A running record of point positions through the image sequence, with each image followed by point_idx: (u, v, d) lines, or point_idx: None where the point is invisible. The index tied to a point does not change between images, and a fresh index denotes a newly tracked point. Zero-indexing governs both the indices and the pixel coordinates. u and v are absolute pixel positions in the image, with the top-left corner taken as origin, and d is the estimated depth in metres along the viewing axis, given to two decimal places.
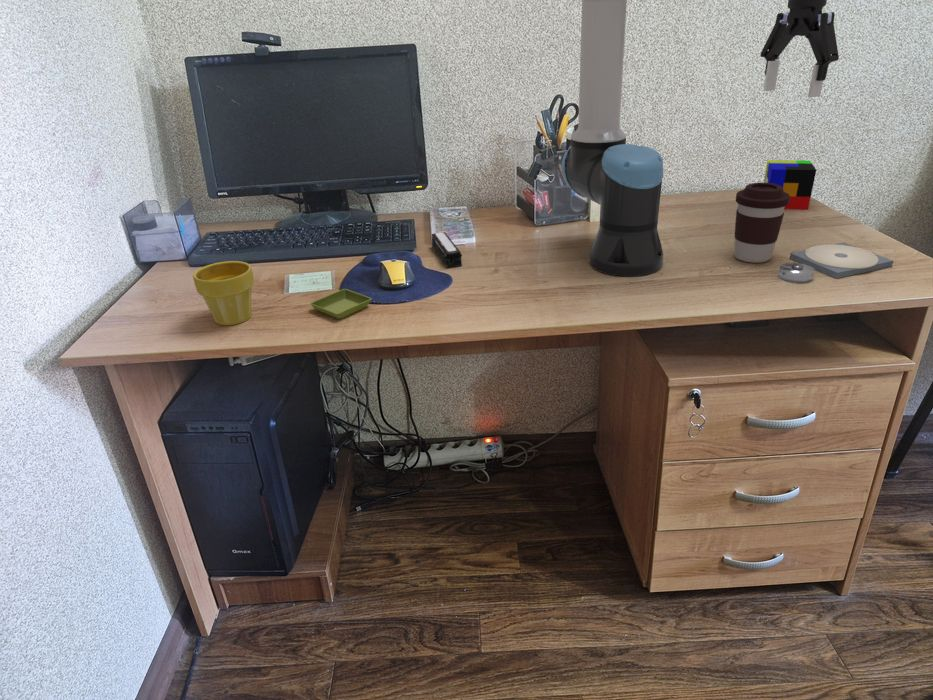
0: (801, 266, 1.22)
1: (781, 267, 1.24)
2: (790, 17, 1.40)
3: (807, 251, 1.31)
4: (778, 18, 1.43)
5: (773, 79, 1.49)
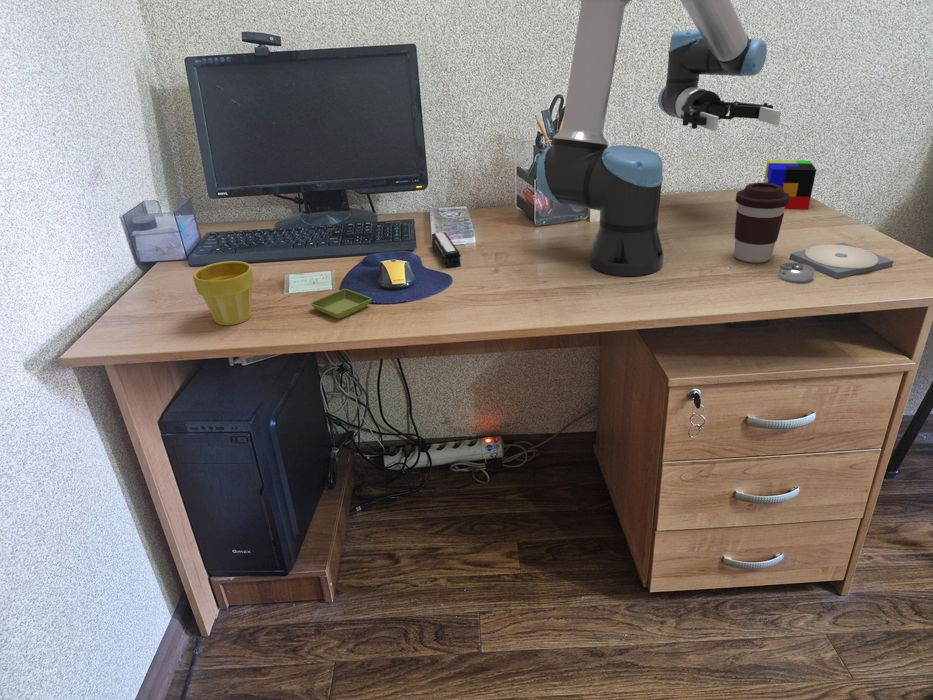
0: (801, 266, 1.22)
1: (781, 267, 1.24)
2: (699, 106, 1.42)
3: (807, 251, 1.31)
4: (685, 106, 1.42)
5: None
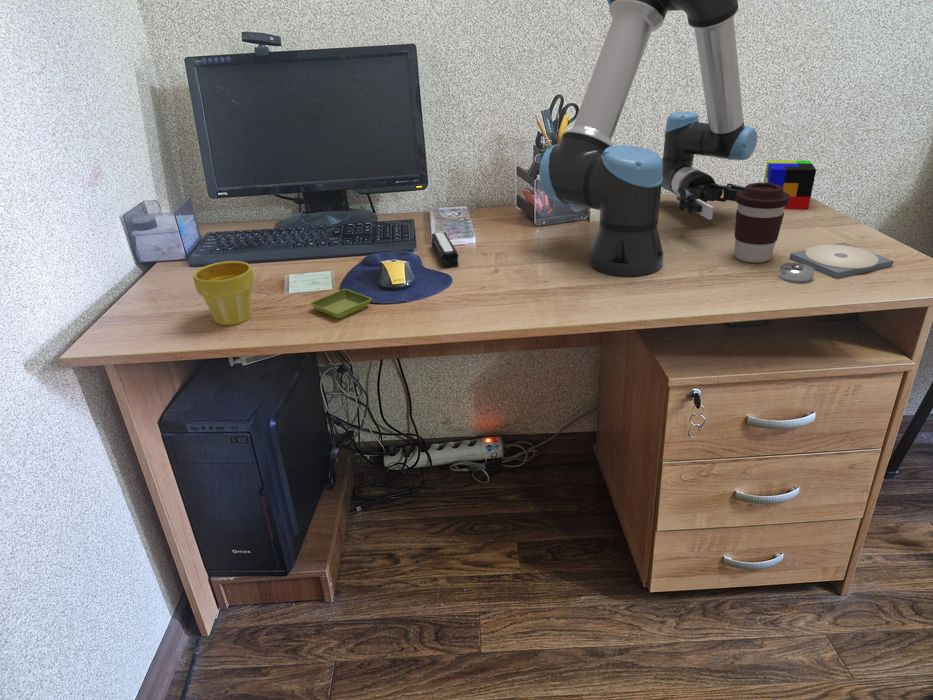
0: (801, 266, 1.22)
1: (781, 267, 1.24)
2: (694, 188, 1.49)
3: (807, 251, 1.31)
4: (681, 189, 1.49)
5: None
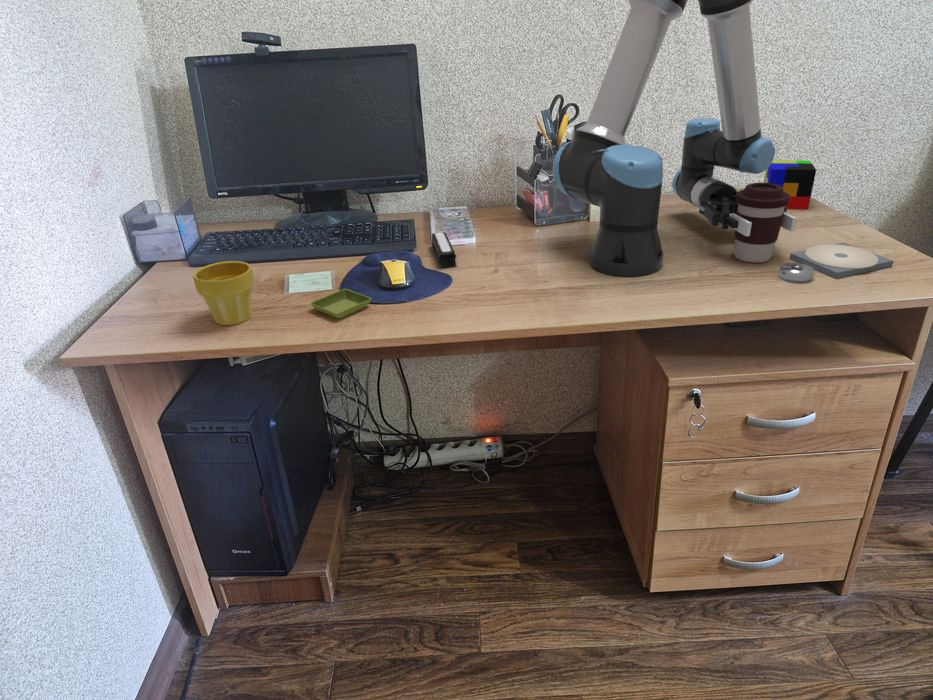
0: (801, 266, 1.22)
1: (781, 267, 1.24)
2: (716, 200, 1.40)
3: (807, 251, 1.31)
4: (704, 202, 1.38)
5: None
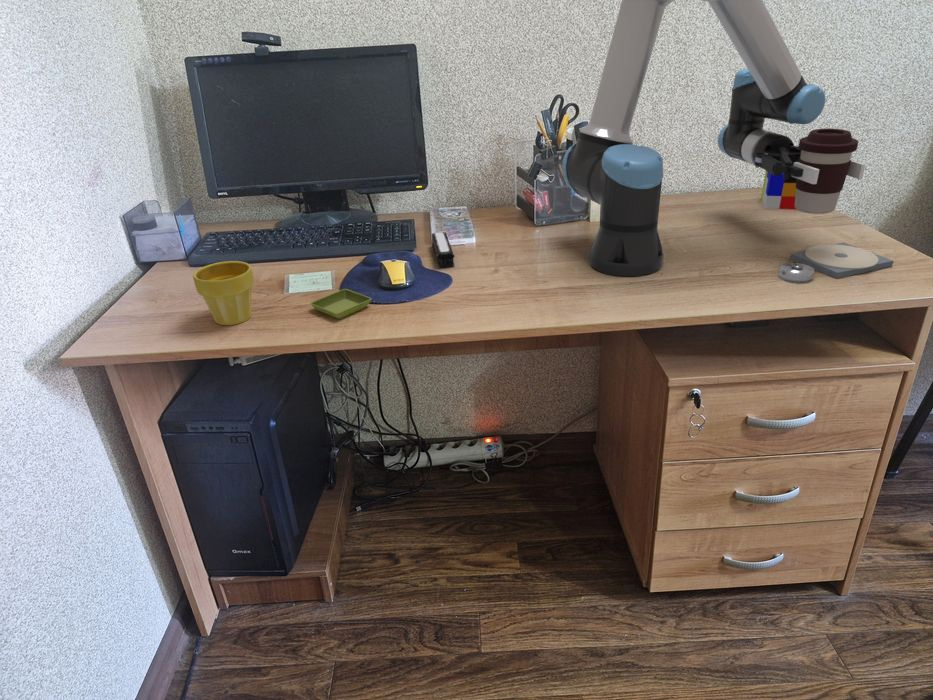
0: (801, 266, 1.22)
1: (781, 267, 1.24)
2: (772, 151, 1.33)
3: (807, 251, 1.31)
4: (761, 153, 1.31)
5: None
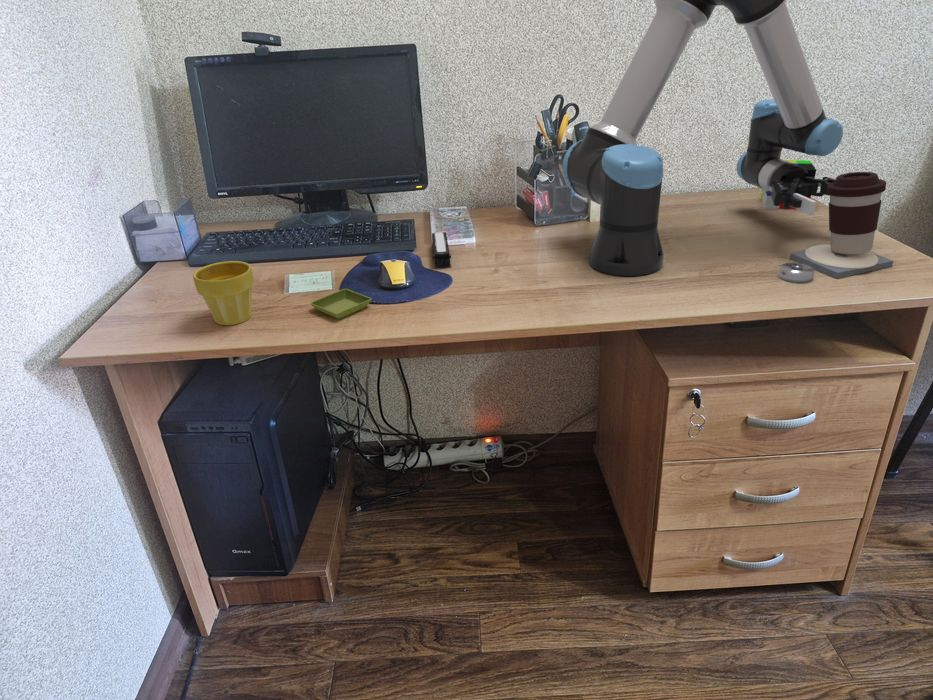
0: (801, 266, 1.22)
1: (781, 268, 1.23)
2: (787, 182, 1.38)
3: (807, 251, 1.31)
4: (773, 183, 1.38)
5: None
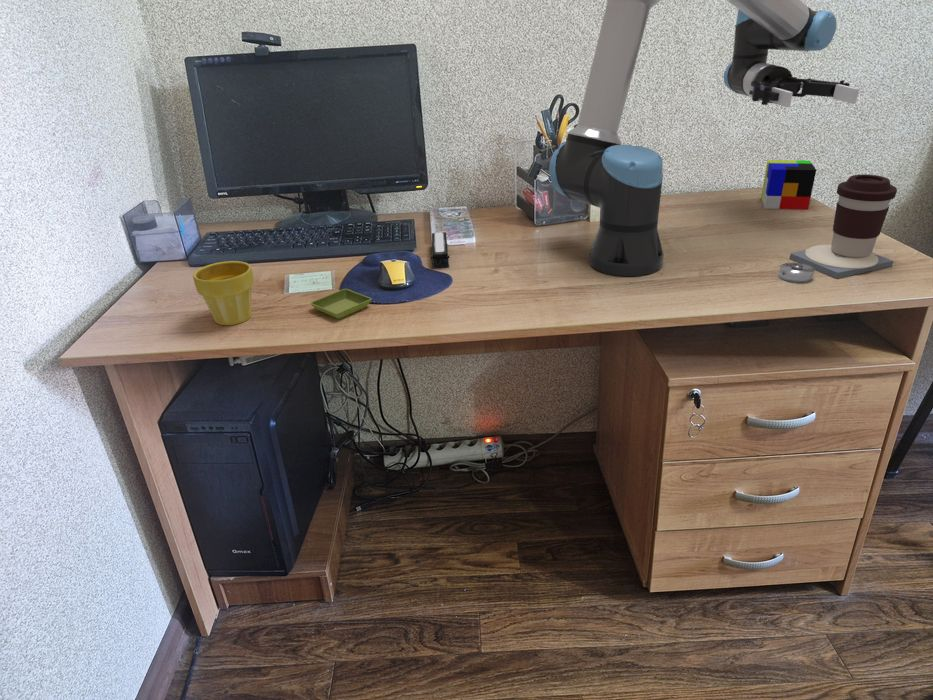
0: (801, 266, 1.22)
1: (781, 268, 1.23)
2: (769, 81, 1.37)
3: (807, 251, 1.31)
4: (755, 82, 1.36)
5: None
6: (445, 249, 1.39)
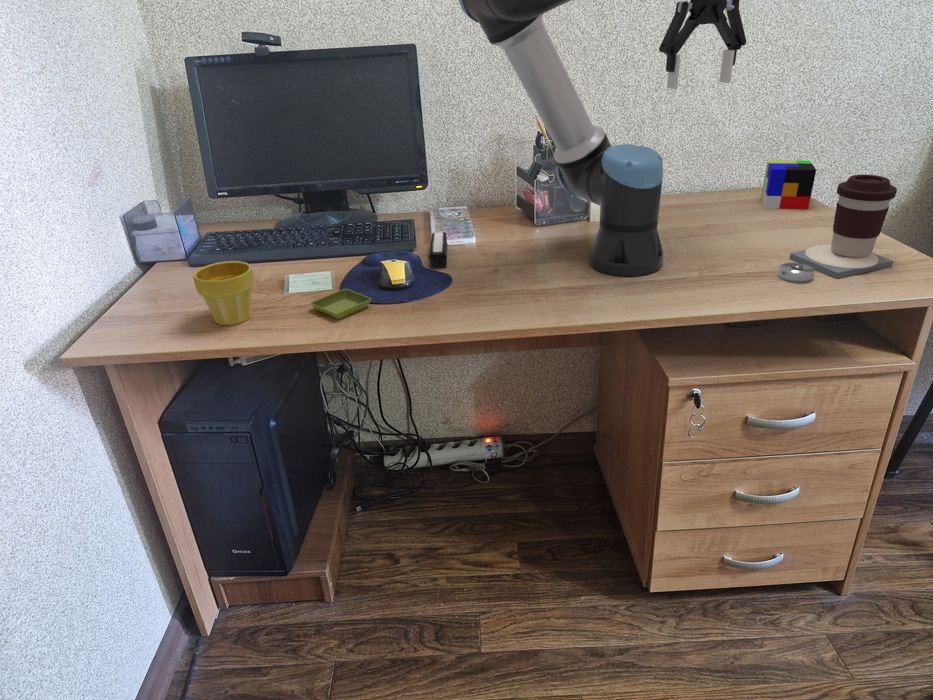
0: (801, 266, 1.22)
1: (781, 268, 1.23)
2: (699, 5, 1.29)
3: (807, 251, 1.31)
4: (685, 7, 1.28)
5: None
6: (443, 249, 1.39)
